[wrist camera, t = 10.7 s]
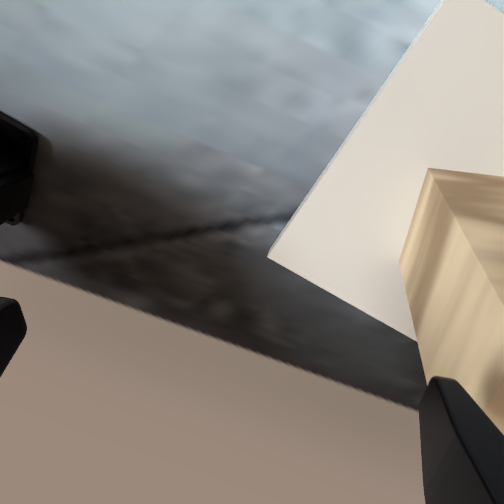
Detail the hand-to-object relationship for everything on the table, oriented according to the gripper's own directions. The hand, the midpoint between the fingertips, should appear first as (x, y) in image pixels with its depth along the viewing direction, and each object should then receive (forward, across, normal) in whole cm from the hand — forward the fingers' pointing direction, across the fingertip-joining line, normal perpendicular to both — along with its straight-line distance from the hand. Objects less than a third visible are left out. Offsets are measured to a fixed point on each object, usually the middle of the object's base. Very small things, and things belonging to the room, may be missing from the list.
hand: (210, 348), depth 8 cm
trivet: (+13, -9, +2) cm, 16 cm away
